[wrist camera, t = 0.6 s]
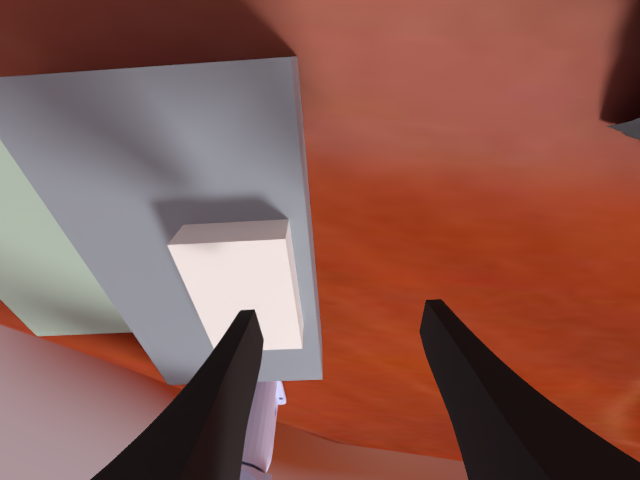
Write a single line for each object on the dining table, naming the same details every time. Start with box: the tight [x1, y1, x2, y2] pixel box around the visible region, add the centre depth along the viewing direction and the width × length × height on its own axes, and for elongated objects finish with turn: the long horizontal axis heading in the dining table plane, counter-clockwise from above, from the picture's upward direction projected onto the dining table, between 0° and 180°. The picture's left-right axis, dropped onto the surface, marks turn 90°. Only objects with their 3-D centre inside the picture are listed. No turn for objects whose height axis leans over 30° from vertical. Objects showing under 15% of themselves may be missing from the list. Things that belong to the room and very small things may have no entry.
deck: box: [0, 56, 322, 385], centre depth 20 cm, size 24×14×4 cm, turn 3°
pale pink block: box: [167, 219, 304, 350], centre depth 17 cm, size 9×6×2 cm, turn 3°
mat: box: [0, 140, 132, 336], centre depth 21 cm, size 20×13×1 cm, turn 3°
